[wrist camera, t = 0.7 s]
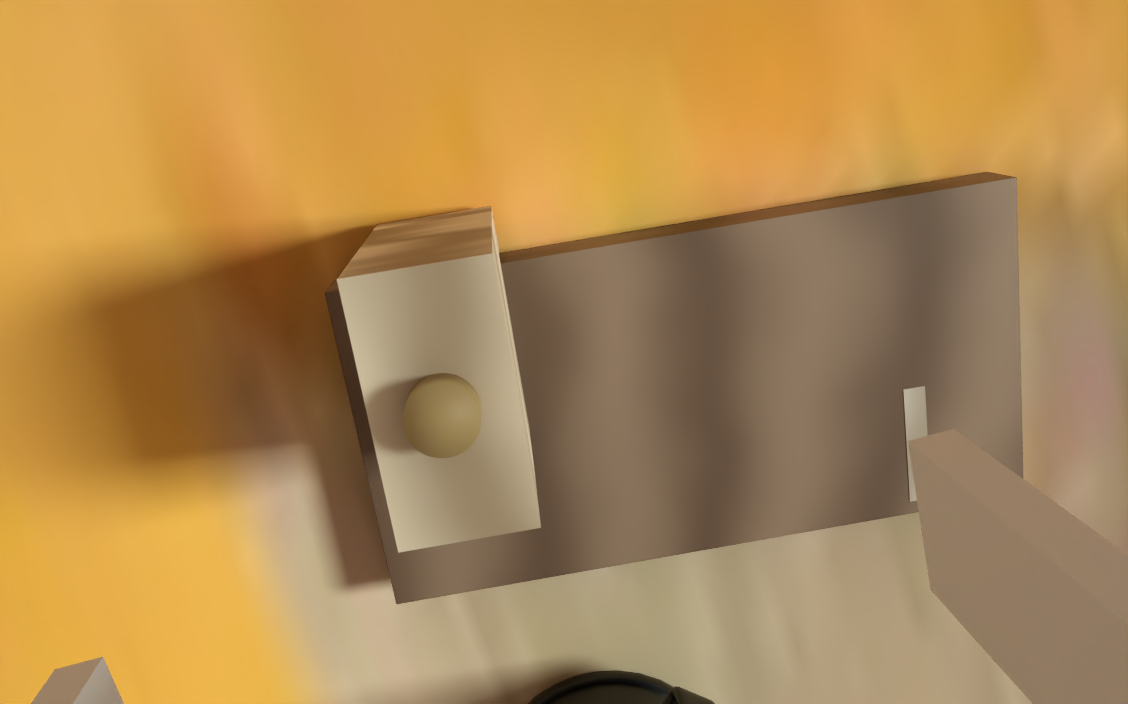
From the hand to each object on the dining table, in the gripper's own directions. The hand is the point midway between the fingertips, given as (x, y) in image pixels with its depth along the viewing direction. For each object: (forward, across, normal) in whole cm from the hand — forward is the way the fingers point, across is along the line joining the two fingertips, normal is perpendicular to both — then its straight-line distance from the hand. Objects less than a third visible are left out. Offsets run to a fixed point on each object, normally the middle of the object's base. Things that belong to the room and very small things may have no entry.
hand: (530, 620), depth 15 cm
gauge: (+21, -2, 0) cm, 21 cm away
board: (+21, +6, -4) cm, 22 cm away
